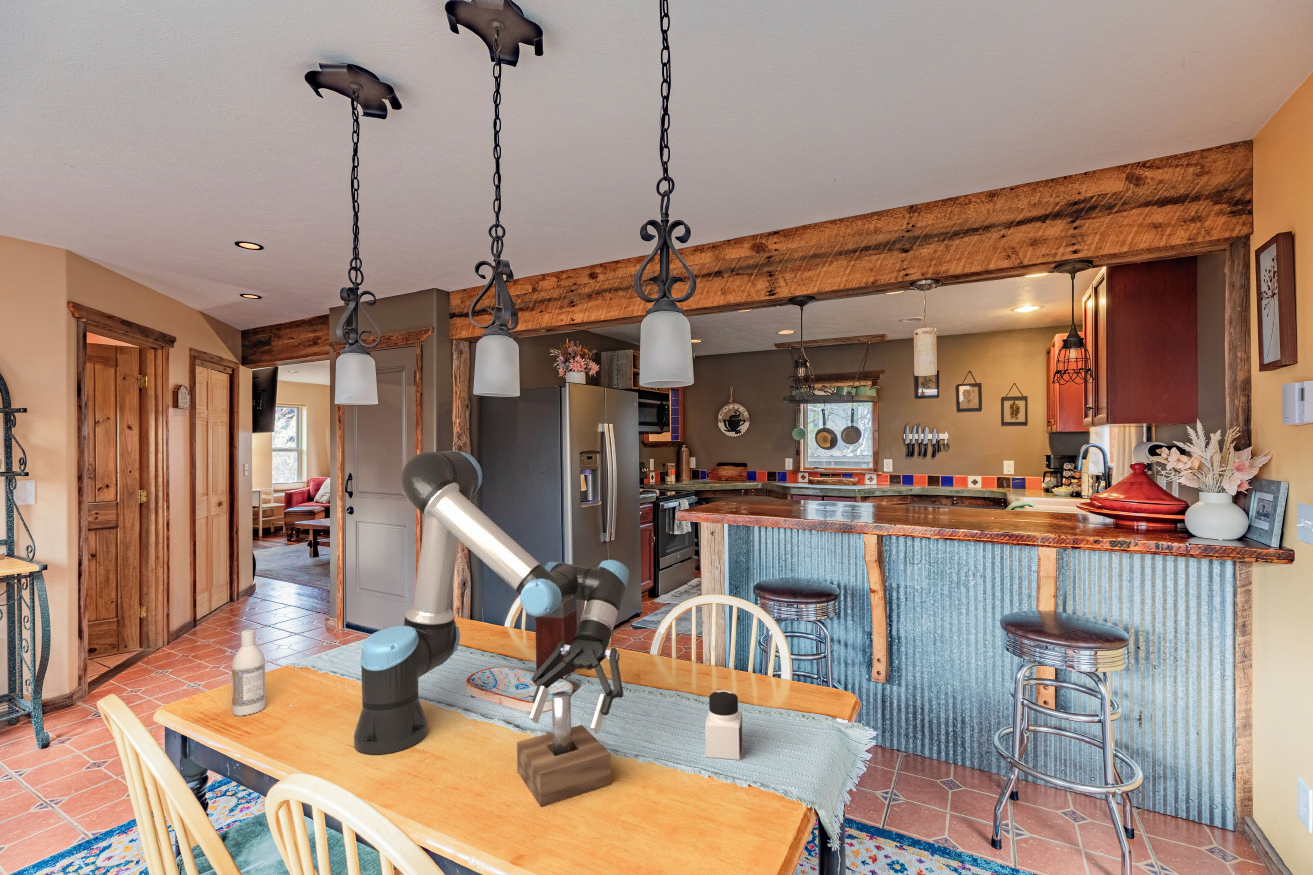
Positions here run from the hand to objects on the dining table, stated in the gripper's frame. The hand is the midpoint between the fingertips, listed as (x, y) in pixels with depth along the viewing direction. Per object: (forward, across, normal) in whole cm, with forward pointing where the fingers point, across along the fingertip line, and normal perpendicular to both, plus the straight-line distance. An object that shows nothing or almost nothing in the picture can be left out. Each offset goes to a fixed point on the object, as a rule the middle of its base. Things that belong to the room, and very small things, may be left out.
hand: (563, 725), depth 121 cm
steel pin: (+6, 0, -6) cm, 8 cm away
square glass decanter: (-28, +30, -43) cm, 60 cm away
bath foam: (+6, +91, -8) cm, 91 cm away
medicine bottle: (-7, -27, -22) cm, 35 cm away
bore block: (+7, 0, -7) cm, 10 cm away
